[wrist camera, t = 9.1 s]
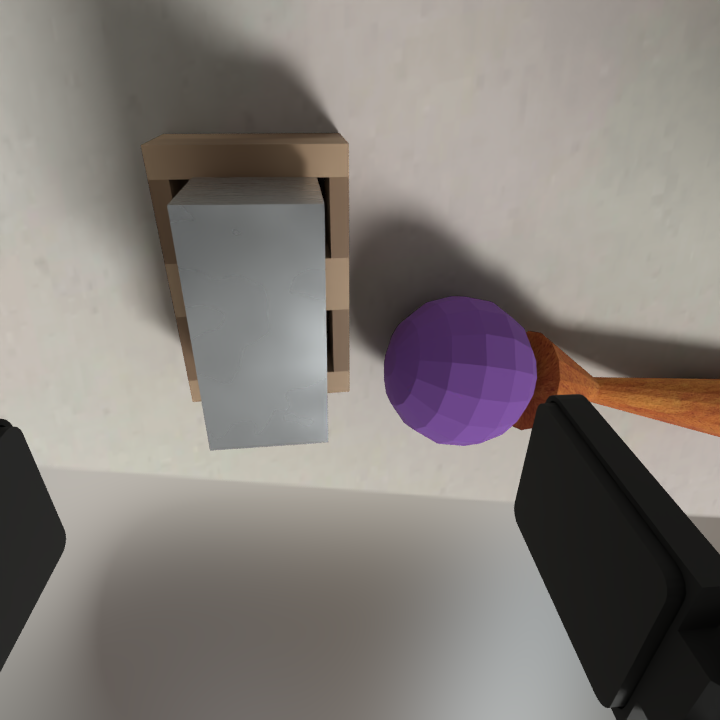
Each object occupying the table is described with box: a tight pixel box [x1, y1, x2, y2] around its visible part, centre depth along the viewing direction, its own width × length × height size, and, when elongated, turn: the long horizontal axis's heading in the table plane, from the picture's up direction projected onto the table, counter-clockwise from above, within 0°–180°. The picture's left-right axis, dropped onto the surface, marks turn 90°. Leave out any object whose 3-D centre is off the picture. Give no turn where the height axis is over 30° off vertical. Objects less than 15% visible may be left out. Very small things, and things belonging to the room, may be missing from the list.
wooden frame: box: [141, 133, 349, 402], centre depth 18 cm, size 6×9×3 cm, turn 0°
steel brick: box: [167, 177, 328, 450], centre depth 16 cm, size 4×7×7 cm, turn 179°
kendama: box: [384, 296, 720, 446], centre depth 22 cm, size 6×6×20 cm
